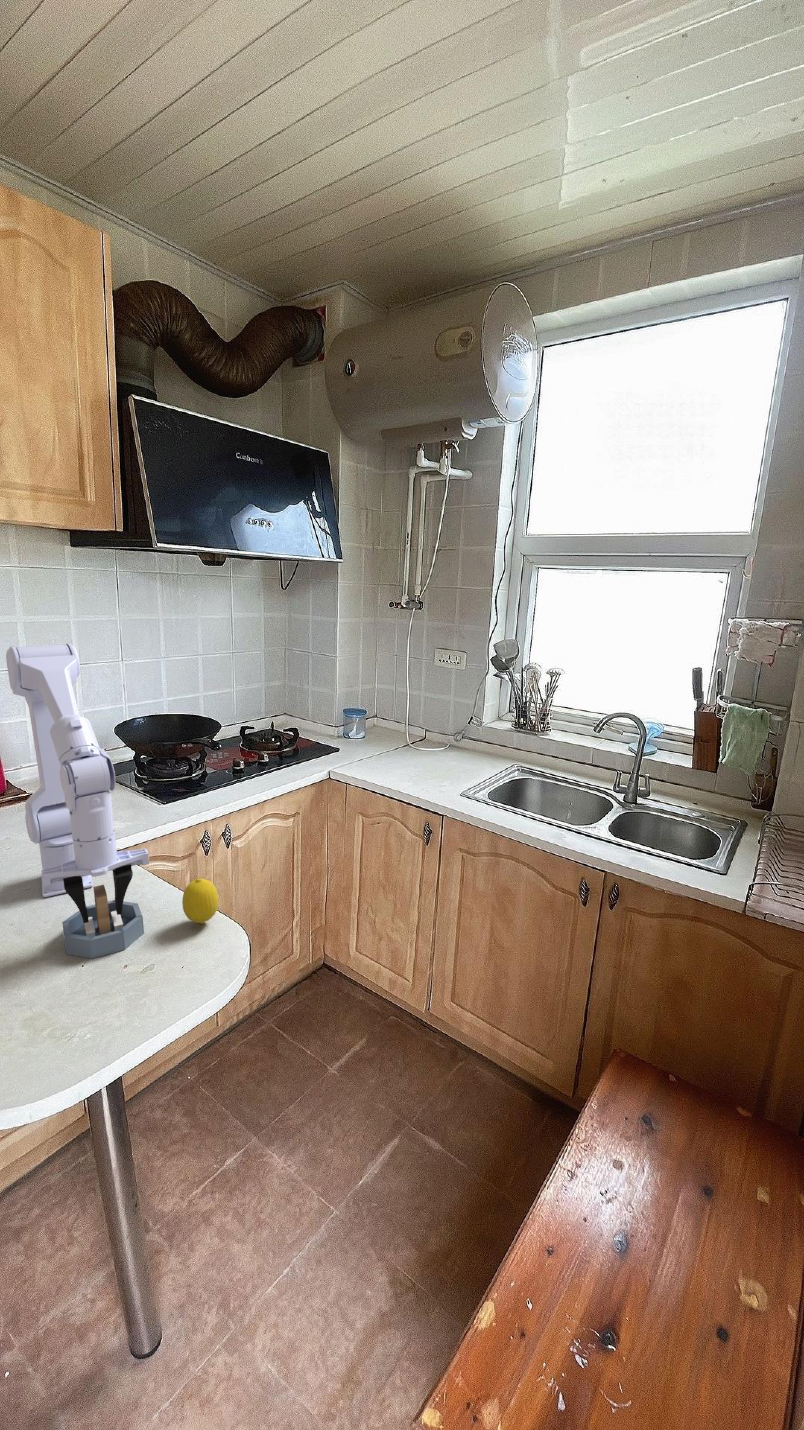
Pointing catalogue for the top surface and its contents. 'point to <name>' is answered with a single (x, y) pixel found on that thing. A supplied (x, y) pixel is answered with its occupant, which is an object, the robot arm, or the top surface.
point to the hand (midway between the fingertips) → (102, 915)
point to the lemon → (200, 900)
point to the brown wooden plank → (102, 909)
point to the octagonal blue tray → (92, 945)
